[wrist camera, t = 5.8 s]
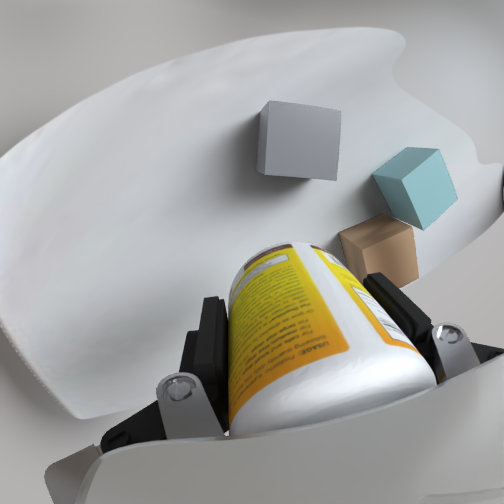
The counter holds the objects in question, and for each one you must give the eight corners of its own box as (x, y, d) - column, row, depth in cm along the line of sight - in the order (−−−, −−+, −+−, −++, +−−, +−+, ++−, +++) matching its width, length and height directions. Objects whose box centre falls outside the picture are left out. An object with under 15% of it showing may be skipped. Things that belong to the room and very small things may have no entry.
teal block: (406, 147, 23) (439, 149, 18) (426, 189, 25) (458, 198, 20) (371, 173, 24) (401, 179, 19) (393, 217, 25) (423, 230, 21)
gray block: (318, 118, 22) (341, 111, 17) (314, 175, 23) (336, 181, 19) (259, 111, 21) (269, 100, 16) (256, 170, 23) (264, 174, 18)
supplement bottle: (222, 338, 14) (219, 548, 4) (237, 228, 12) (257, 485, 2) (327, 345, 14) (400, 519, 5) (359, 246, 12) (523, 408, 3)
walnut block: (382, 213, 25) (412, 226, 20) (391, 258, 27) (418, 277, 22) (338, 232, 25) (361, 250, 20) (350, 277, 27) (372, 301, 22)
